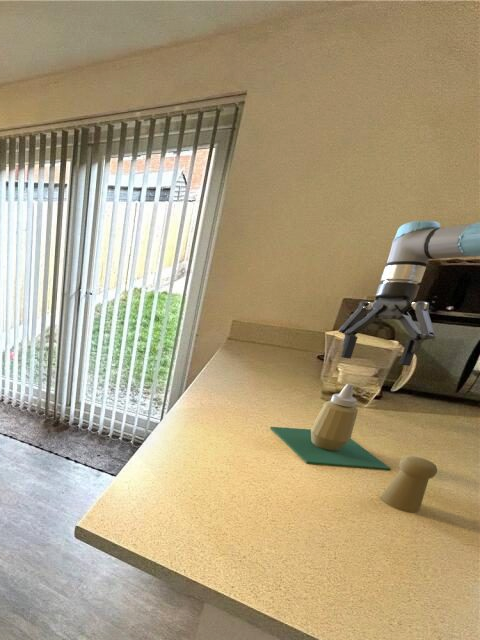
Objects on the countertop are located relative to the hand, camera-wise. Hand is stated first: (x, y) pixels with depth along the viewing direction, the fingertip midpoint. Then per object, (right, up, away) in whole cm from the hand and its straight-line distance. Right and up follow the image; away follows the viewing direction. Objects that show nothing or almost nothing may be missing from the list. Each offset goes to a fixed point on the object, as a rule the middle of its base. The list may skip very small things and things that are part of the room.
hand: (373, 361), depth 108 cm
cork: (-18, -32, -23) cm, 44 cm away
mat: (-16, -23, -3) cm, 29 cm away
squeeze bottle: (-16, -23, -3) cm, 28 cm away
